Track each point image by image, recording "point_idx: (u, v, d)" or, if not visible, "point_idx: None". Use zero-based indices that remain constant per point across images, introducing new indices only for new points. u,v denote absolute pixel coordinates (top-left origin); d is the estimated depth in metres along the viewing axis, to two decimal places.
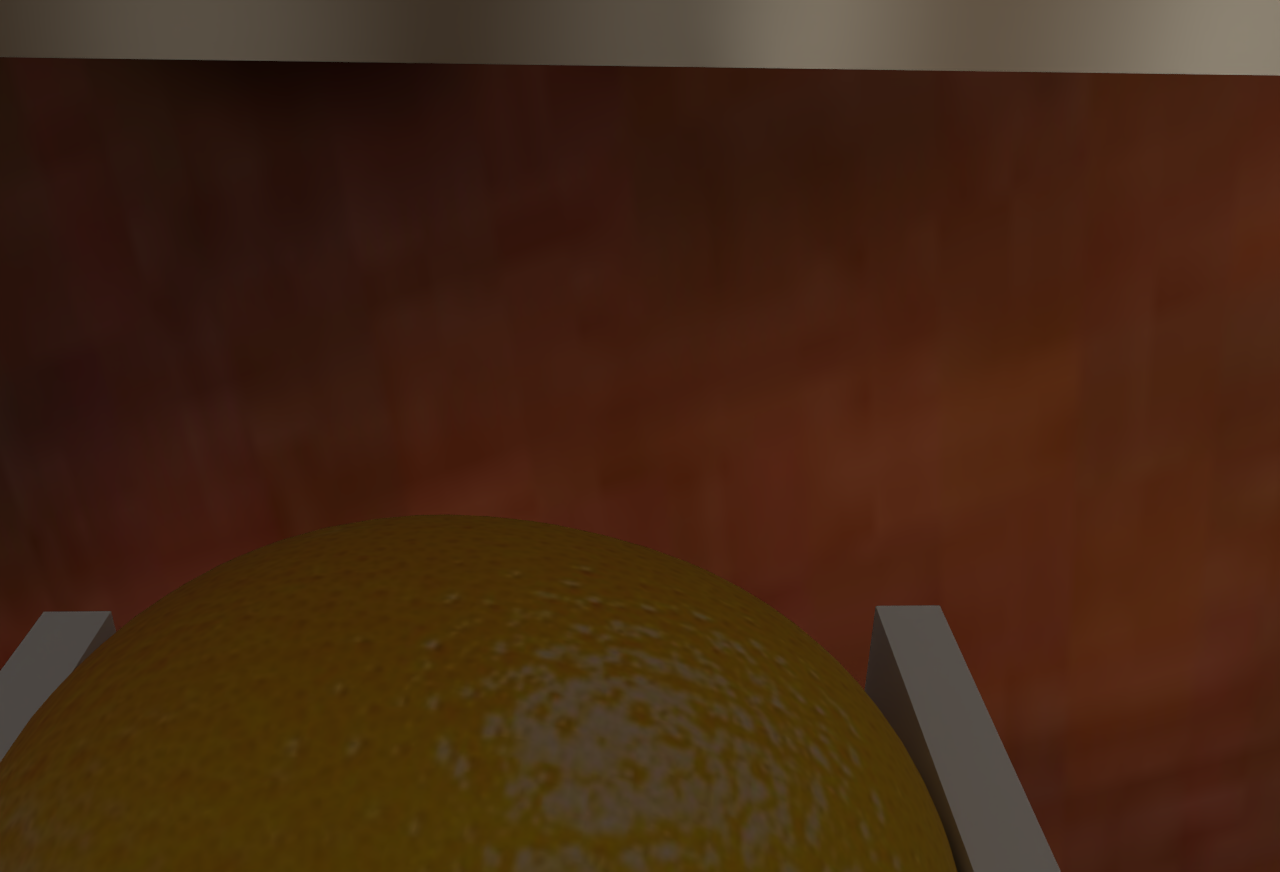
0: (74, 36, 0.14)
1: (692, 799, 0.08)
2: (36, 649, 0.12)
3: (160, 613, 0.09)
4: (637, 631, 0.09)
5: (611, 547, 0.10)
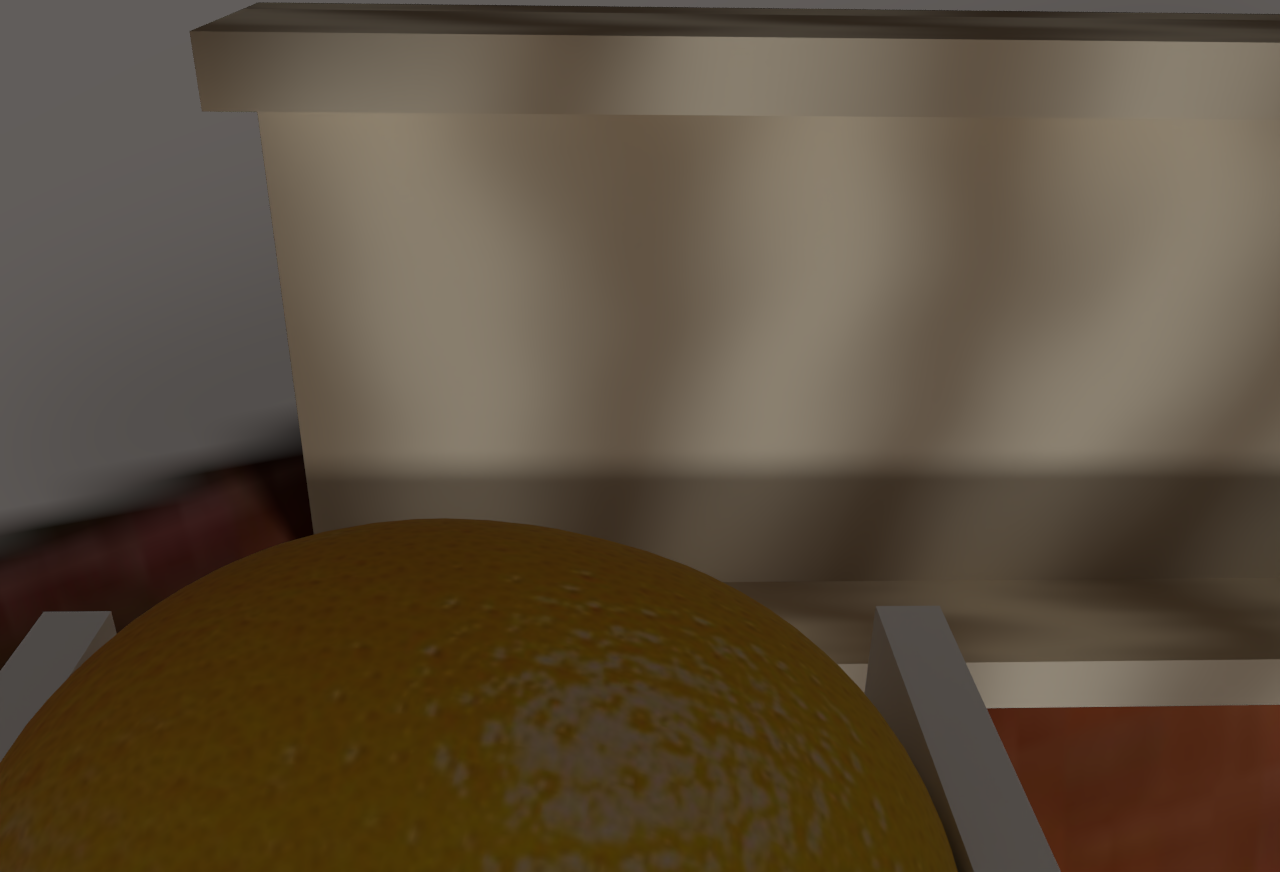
0: None
1: (693, 806, 0.08)
2: (36, 648, 0.12)
3: (157, 618, 0.09)
4: (638, 638, 0.09)
5: (611, 551, 0.10)
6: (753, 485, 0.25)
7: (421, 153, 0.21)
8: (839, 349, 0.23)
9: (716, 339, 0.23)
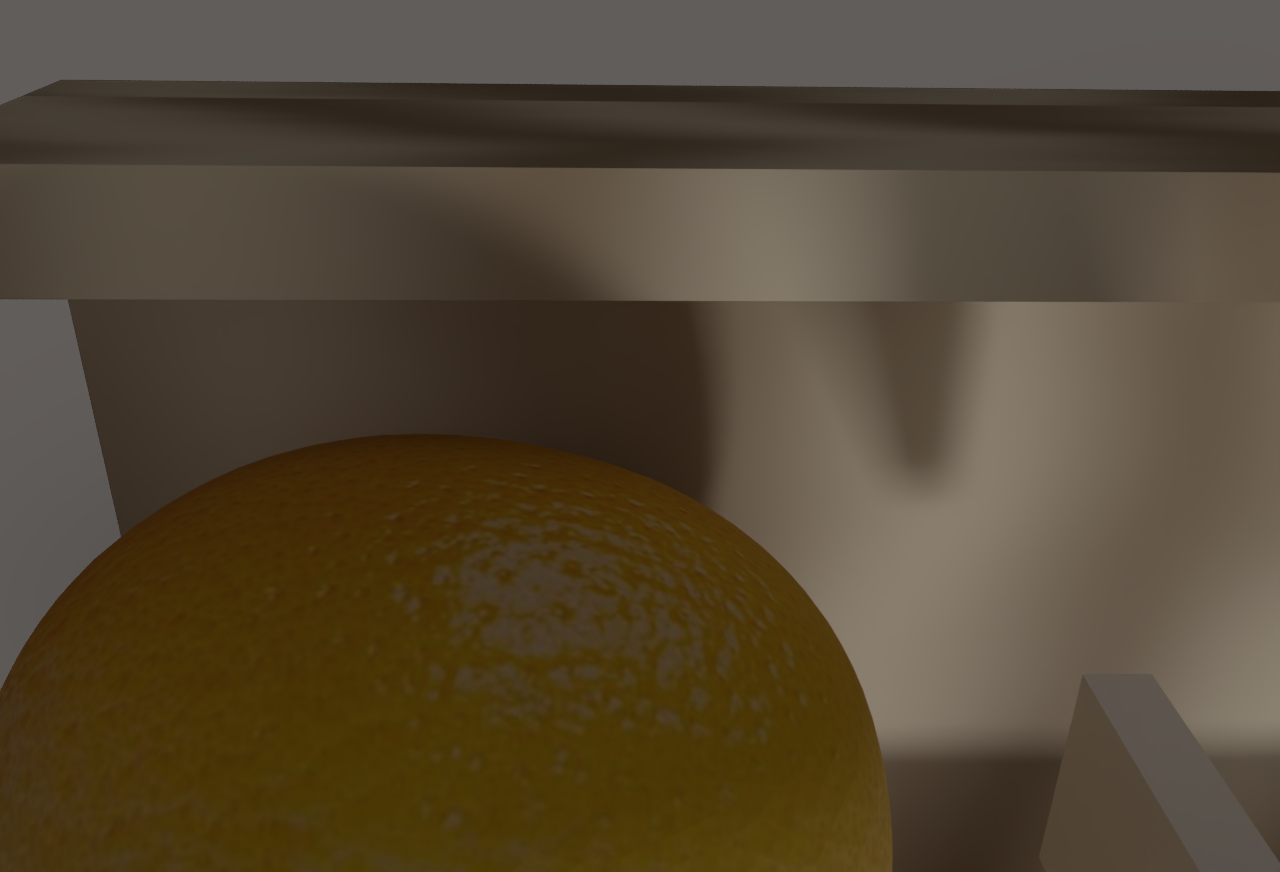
0: None
1: (613, 634, 0.09)
2: None
3: (164, 509, 0.11)
4: (576, 511, 0.10)
5: (562, 454, 0.12)
6: None
7: (325, 317, 0.13)
8: (969, 590, 0.16)
9: None
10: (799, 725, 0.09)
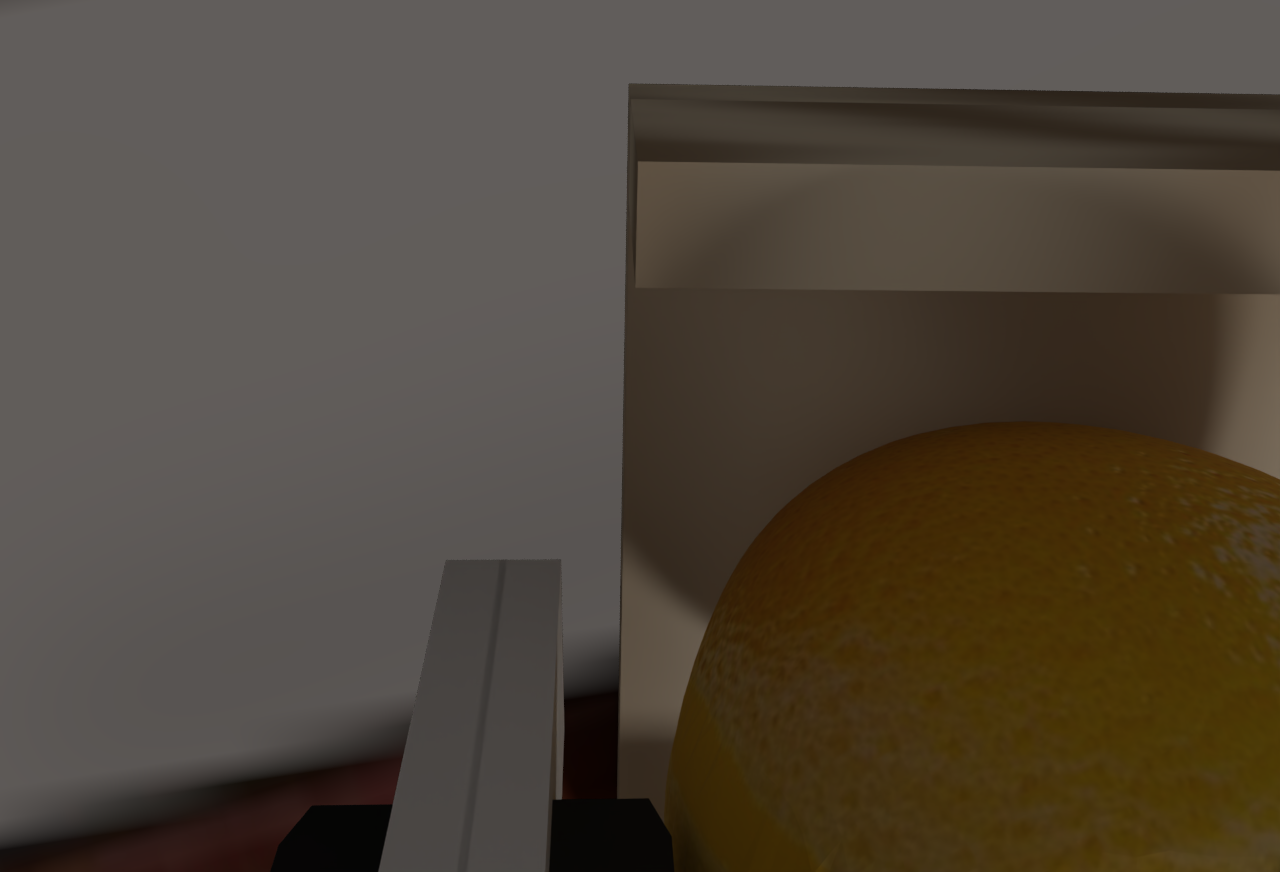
0: None
1: None
2: (456, 591, 0.13)
3: (859, 494, 0.11)
4: (1261, 493, 0.11)
5: None
6: None
7: (862, 310, 0.14)
8: None
9: None
10: None
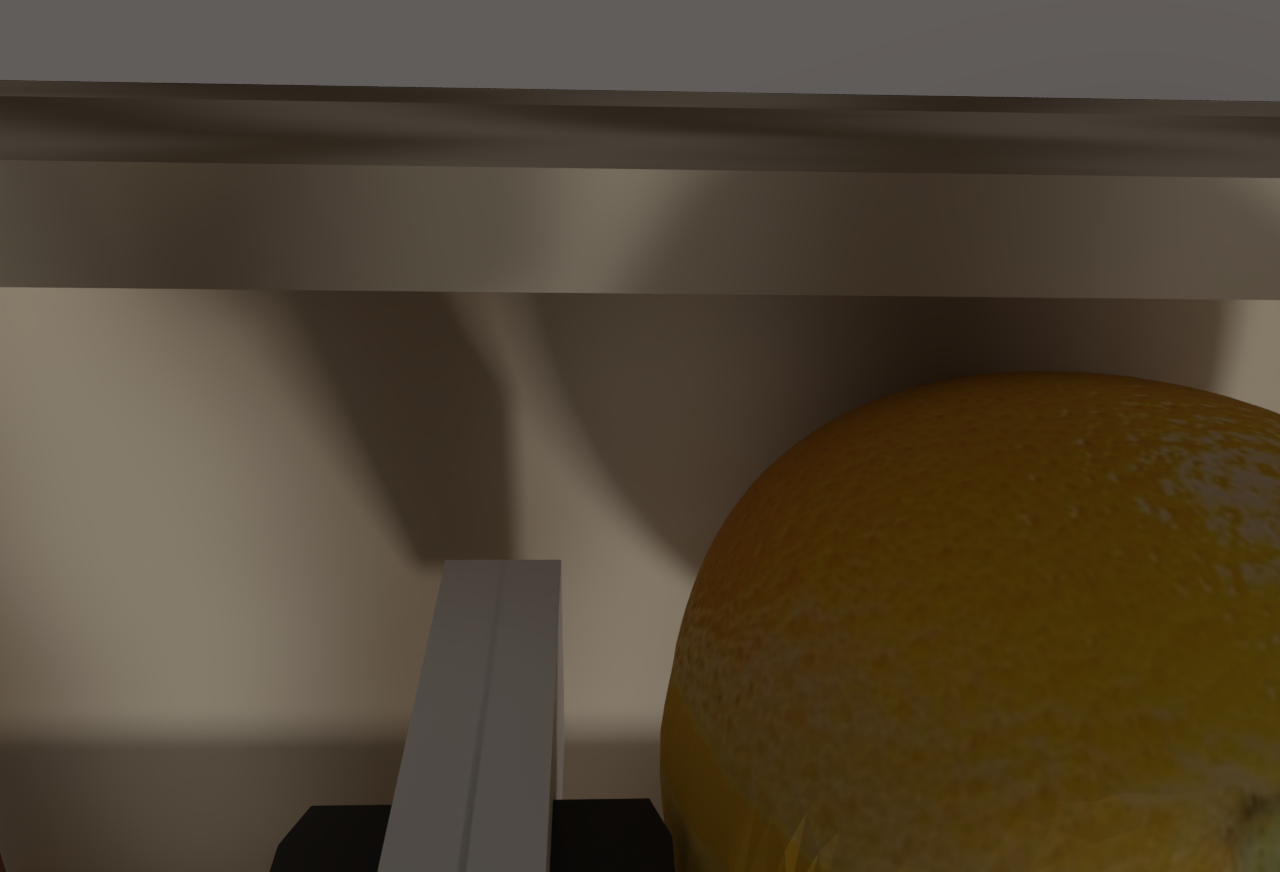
0: None
1: None
2: (456, 591, 0.13)
3: (809, 466, 0.11)
4: (1219, 421, 0.11)
5: (1129, 376, 0.12)
6: (609, 752, 0.17)
7: (72, 307, 0.14)
8: None
9: None
10: None
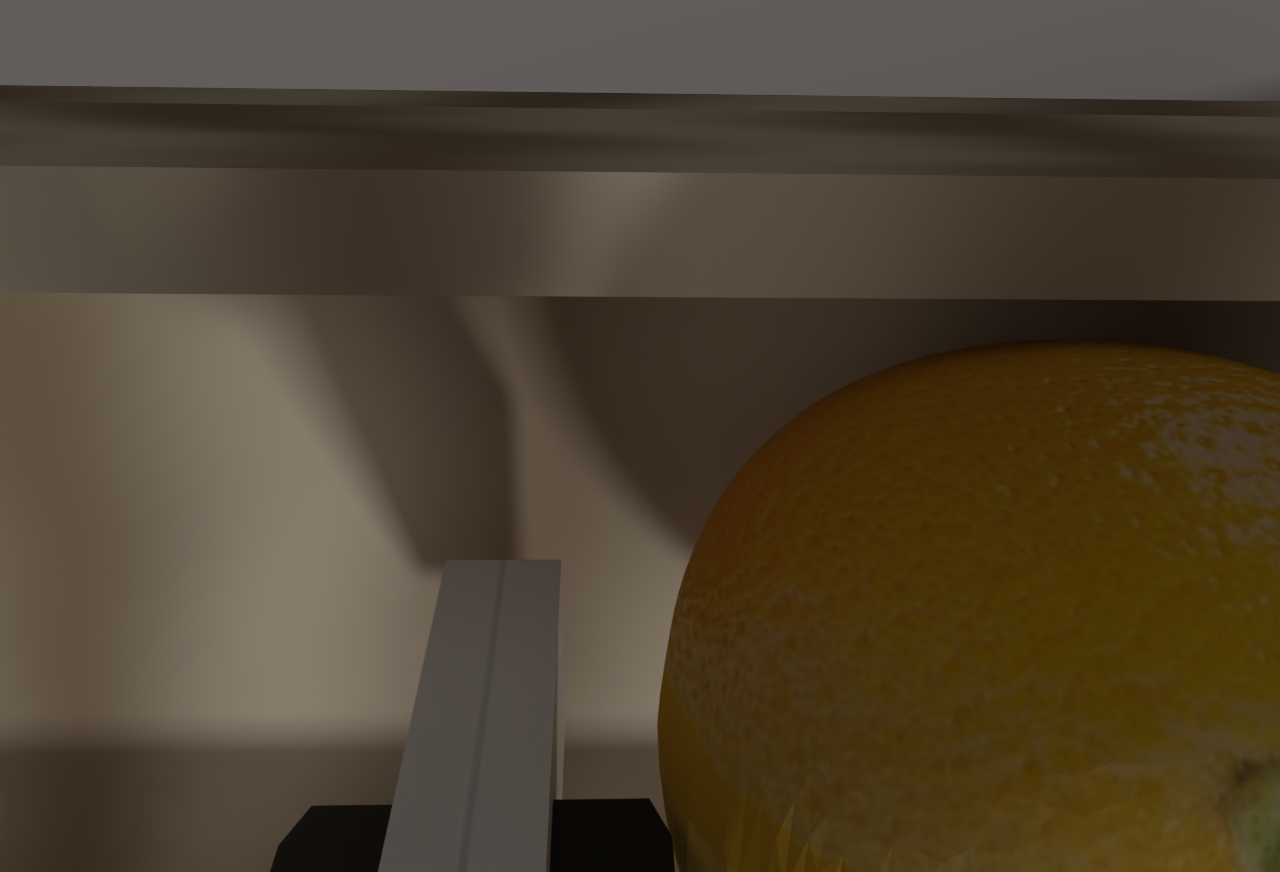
0: None
1: None
2: (457, 591, 0.13)
3: (791, 449, 0.11)
4: (1204, 381, 0.11)
5: (1117, 342, 0.12)
6: (282, 758, 0.17)
7: None
8: (369, 581, 0.16)
9: (181, 568, 0.16)
10: None
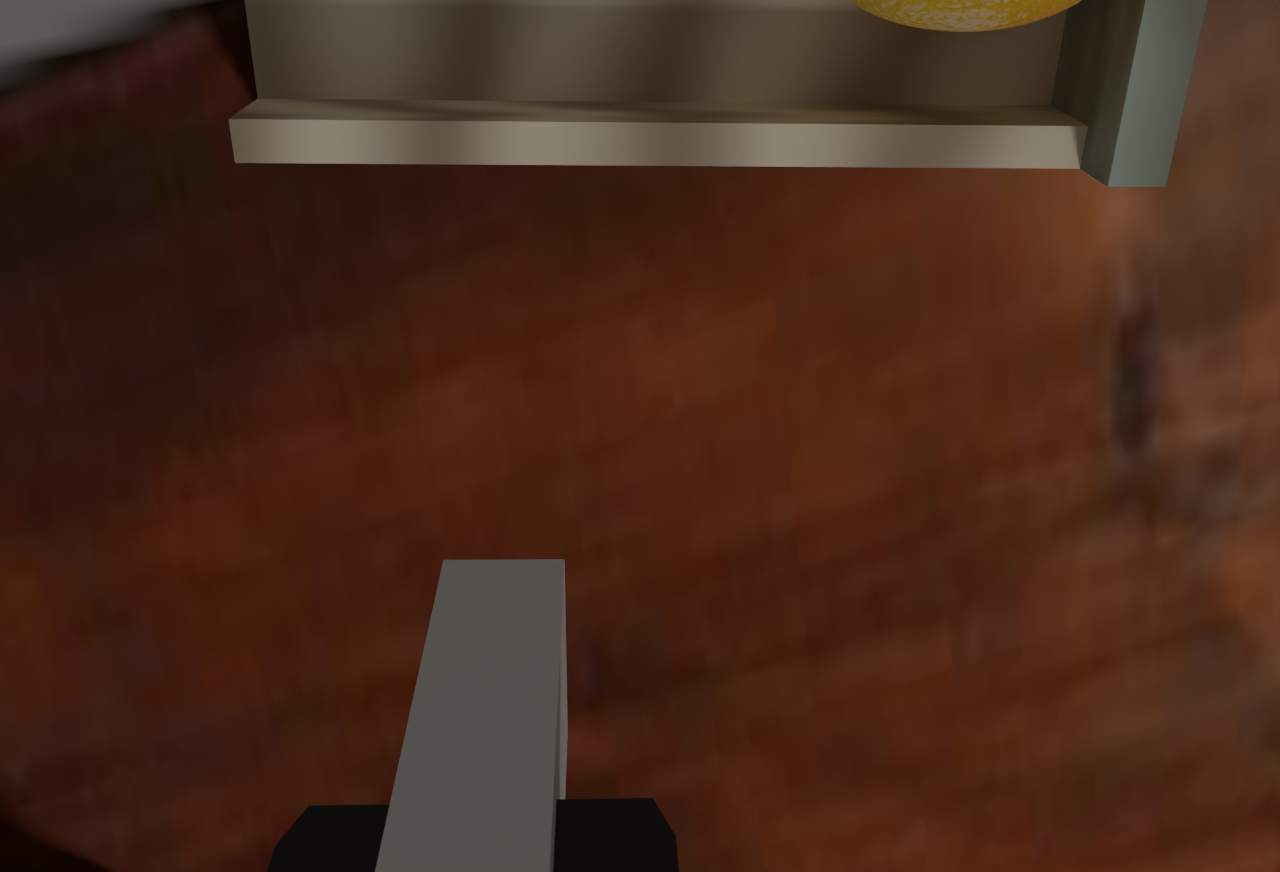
0: (275, 154, 0.32)
1: None
2: (454, 591, 0.13)
3: None
4: None
5: None
6: (579, 12, 0.33)
7: None
8: None
9: None
10: None
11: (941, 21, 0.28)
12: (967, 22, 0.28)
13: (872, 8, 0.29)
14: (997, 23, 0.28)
